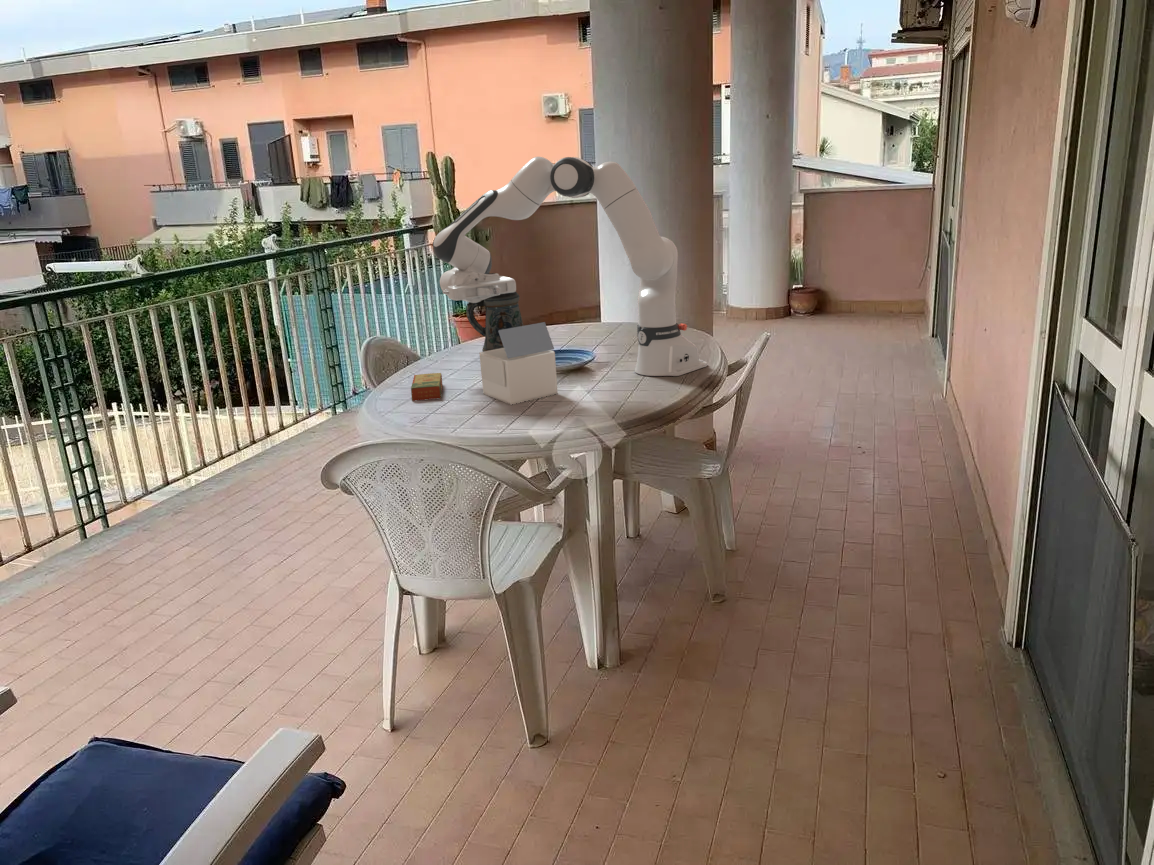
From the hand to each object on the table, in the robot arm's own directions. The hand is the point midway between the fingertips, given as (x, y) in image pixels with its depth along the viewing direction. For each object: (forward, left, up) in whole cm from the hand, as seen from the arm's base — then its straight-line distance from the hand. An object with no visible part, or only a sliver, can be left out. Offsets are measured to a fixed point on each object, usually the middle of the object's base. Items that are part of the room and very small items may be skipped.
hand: (494, 291), depth 232 cm
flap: (0, +16, -12) cm, 20 cm away
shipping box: (0, +10, -28) cm, 30 cm away
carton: (+19, -12, -29) cm, 36 cm away
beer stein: (-19, -35, -28) cm, 49 cm away
